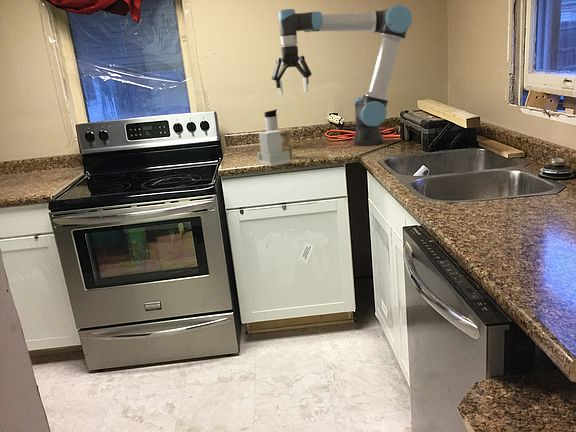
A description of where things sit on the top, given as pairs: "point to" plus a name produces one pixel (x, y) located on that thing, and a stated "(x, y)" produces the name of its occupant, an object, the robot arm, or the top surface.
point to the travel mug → (271, 120)
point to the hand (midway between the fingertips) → (293, 93)
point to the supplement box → (270, 143)
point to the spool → (286, 141)
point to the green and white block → (275, 159)
